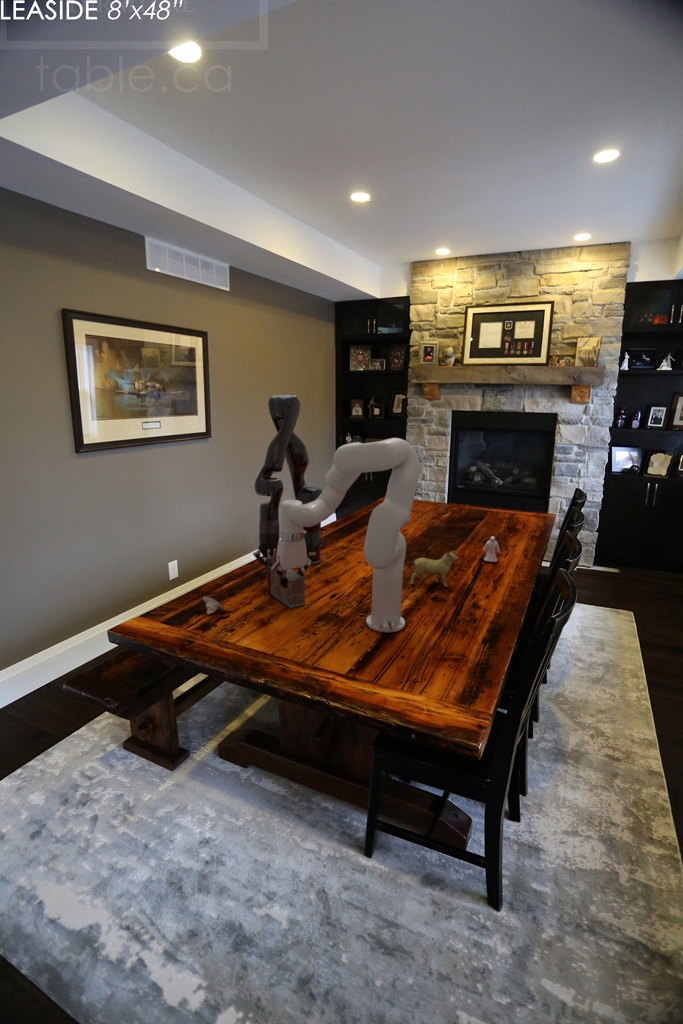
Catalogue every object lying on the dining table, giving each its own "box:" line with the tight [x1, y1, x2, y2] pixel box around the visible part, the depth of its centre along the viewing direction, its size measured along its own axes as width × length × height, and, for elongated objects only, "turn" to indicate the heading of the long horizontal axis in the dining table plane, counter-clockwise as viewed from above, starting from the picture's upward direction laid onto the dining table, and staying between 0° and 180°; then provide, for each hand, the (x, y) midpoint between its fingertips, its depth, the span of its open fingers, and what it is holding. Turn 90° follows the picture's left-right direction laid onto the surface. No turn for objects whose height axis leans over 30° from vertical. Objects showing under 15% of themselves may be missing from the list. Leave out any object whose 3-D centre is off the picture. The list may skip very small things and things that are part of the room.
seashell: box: [202, 596, 226, 615], centre depth 167 cm, size 8×5×8 cm
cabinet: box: [270, 567, 306, 609], centre depth 179 cm, size 16×6×10 cm, turn 34°
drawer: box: [261, 566, 273, 589], centre depth 185 cm, size 20×4×8 cm, turn 34°
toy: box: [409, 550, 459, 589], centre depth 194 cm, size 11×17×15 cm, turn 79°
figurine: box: [482, 535, 501, 563], centre depth 223 cm, size 8×8×12 cm
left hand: (269, 574), depth 190 cm, fingers closed
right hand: (292, 584), depth 175 cm, fingers closed on cabinet, 5 cm apart
